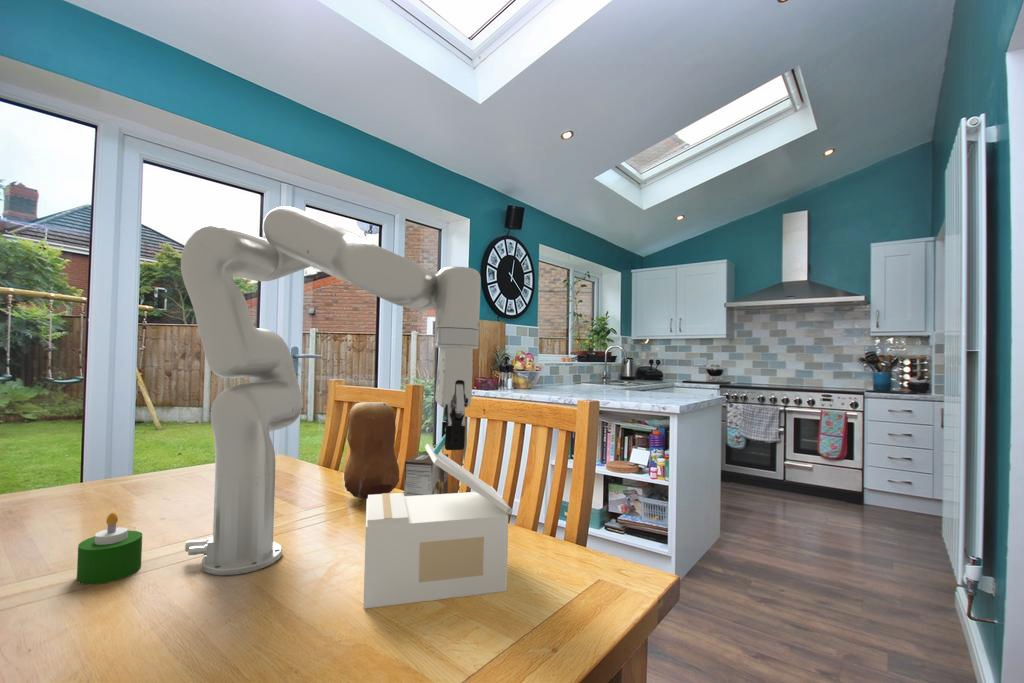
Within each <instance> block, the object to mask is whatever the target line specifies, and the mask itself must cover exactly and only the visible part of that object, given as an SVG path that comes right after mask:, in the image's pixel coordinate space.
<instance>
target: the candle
mask: <svg viewBox="0 0 1024 683" xmlns="http://www.w3.org/2000/svg"><path fill="white" fill-rule="evenodd" d="M118 520H119V519H118V515H117V514H116V513H115V512H110V514H109V515H108V516H107V517H106V525H107V529H103V530H99V531H98V532H96V533H95V534H94V536H92V537H89V538H87V539H84V540H82V541H81V542H80V543H79V544H78V546H77V561H76V562H77V566H76V582H77V581H78V582H80V583H79V584H81V583H83V584H82V585H88V584H90V585H100V584H106V583H112V582H115V581H119V580H122V579H125V578H127V577H130V576H132V575H133V574H136V573H137V572H139V570H141V568H142V557H143V556H142V555H143V554H142V552H143V533H142V532H140V531H137V530H129V528H127V527H122V526H120V527H117V523H118ZM78 582H77V583H78Z"/></svg>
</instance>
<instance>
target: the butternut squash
mask: <svg viewBox="0 0 1024 683" xmlns="http://www.w3.org/2000/svg"><path fill="white" fill-rule="evenodd" d="M395 416H396V415H395V411H394V409H393V407H392V405H390V404H389V403H387V402H382V401H374V402H373V401H372V402H371V401H368V402H366V401H362V402H358V403H355V404H353V405H352V407H351V408H350V411H349V413H348V420H347V421H348V423H347V424H348V428H347V431H348V432H347V442H348V446H349V455H348V458H347V461H346V463H345V466H344V472H343V474H344V475H343V478H344V479H343V482H344V487H345V489H346V492H349V494H351V495H352V496H353V497H354V498H356V499H361V500H367V499H368V495H374V494H382V493H389V494H391V492H392V491H393V490H395V489H396V487H397V486H398V484H399V482H400V467H399V463H398V460H397V458H396V454H395V443H396V431H397V429H396V427H397V426H396V418H395Z"/></svg>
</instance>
